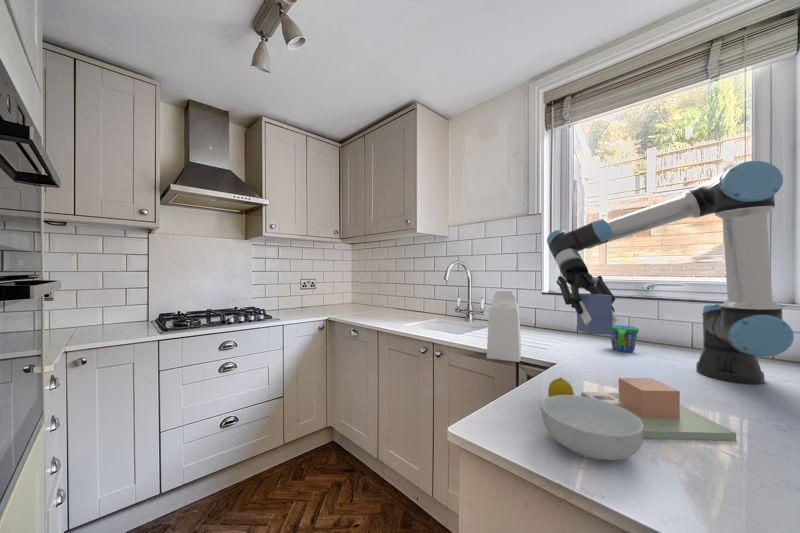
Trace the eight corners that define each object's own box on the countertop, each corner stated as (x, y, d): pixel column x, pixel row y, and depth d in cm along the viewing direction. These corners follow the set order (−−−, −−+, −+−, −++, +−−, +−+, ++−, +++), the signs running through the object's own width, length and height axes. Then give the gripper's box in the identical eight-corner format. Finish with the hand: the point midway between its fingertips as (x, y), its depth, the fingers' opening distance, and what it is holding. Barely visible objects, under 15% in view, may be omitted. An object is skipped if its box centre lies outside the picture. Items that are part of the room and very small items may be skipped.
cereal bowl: (603, 488, 49) (603, 443, 49) (523, 436, 64) (522, 402, 64) (665, 461, 56) (665, 422, 56) (579, 420, 71) (579, 389, 71)
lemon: (543, 408, 77) (543, 375, 77) (559, 404, 80) (559, 372, 80) (562, 417, 72) (562, 383, 72) (579, 413, 74) (579, 379, 75)
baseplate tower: (658, 399, 82) (658, 370, 83) (736, 440, 63) (735, 403, 63) (581, 397, 83) (581, 369, 84) (633, 438, 63) (633, 401, 64)
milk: (521, 354, 127) (521, 290, 127) (519, 361, 116) (519, 292, 116) (490, 351, 132) (490, 289, 132) (486, 358, 121) (486, 291, 121)
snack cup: (612, 345, 142) (612, 323, 142) (641, 349, 134) (641, 326, 134) (603, 351, 131) (603, 327, 131) (634, 356, 123) (634, 331, 123)
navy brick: (598, 330, 94) (598, 293, 94) (612, 334, 88) (611, 295, 88) (577, 330, 95) (576, 293, 95) (589, 334, 88) (588, 295, 88)
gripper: (596, 273, 106) (630, 329, 90) (538, 273, 107) (562, 329, 91) (605, 257, 101) (643, 314, 85) (545, 257, 102) (570, 314, 86)
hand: (601, 322), depth 88 cm, fingers closed on navy brick, 6 cm apart
